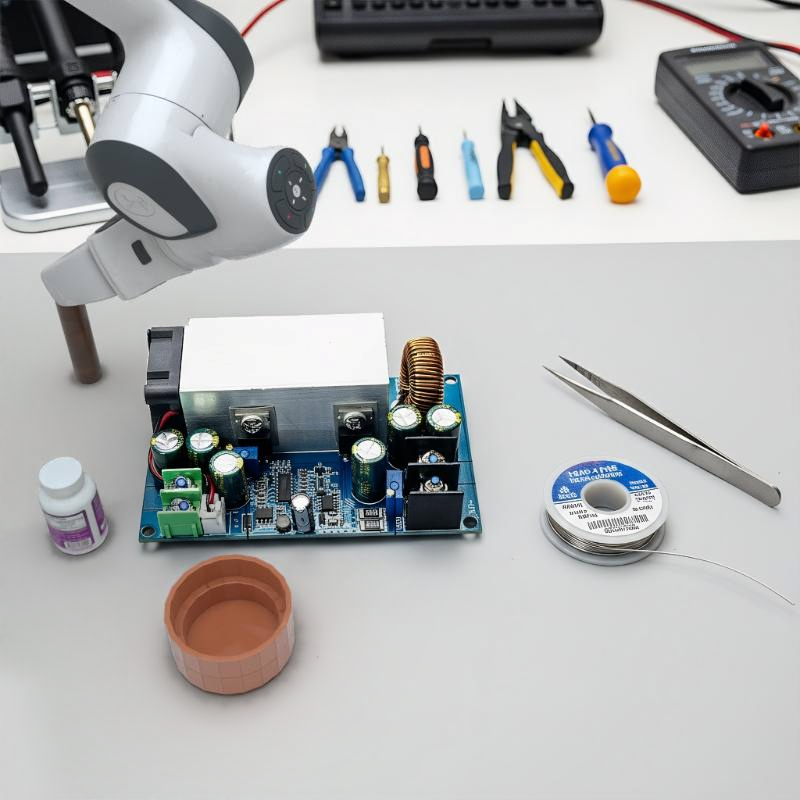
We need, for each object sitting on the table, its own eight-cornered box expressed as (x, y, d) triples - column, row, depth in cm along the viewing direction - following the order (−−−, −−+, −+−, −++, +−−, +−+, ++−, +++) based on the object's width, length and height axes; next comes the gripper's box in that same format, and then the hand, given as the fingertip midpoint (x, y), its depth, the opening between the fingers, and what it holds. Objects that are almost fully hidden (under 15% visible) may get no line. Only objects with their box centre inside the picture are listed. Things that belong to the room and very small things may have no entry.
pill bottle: (77, 507, 102) (57, 443, 95) (119, 526, 100) (102, 462, 93) (41, 544, 98) (18, 480, 91) (85, 564, 97) (64, 501, 90)
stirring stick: (79, 386, 114) (50, 283, 104) (73, 370, 116) (44, 267, 106) (105, 379, 115) (79, 276, 105) (99, 363, 117) (73, 260, 107)
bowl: (194, 716, 86) (185, 680, 81) (159, 617, 93) (149, 579, 88) (312, 669, 89) (310, 632, 85) (270, 577, 96) (266, 539, 92)
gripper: (230, 147, 96) (146, 176, 105) (80, 245, 83) (-2, 269, 92) (260, 205, 99) (175, 229, 108) (119, 309, 86) (35, 327, 95)
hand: (92, 248), depth 100 cm, fingers open, 8 cm apart
